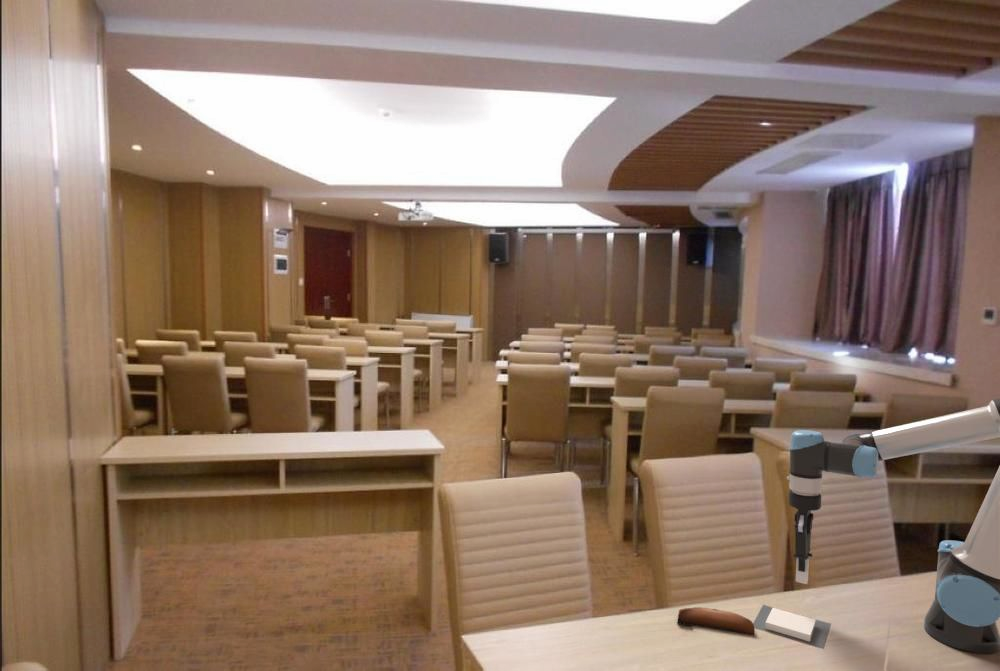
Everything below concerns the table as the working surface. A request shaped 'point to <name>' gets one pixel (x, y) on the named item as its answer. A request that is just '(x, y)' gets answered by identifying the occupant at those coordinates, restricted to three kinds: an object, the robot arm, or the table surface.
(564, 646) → the table surface
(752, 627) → the sunglasses case
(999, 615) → the robot arm
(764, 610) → the mat
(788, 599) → the table surface
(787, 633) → the tile
